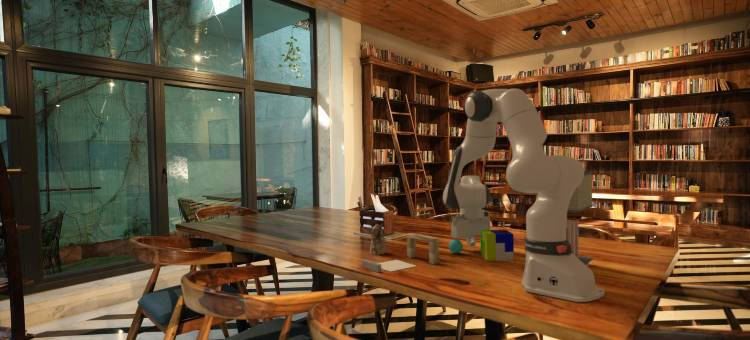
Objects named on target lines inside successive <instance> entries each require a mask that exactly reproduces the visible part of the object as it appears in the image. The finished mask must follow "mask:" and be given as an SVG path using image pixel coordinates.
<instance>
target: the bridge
mask: <svg viewBox="0 0 750 340" xmlns="http://www.w3.org/2000/svg"><path fill="white" fill-rule="evenodd" d="M417 240H419V241H426V242H428V255H429V256H428V261H429V262H428V263H429V264H430V265H437V264H440V254H439V252H440V248H439V246H440V245H439V244H440V243H439V241H440V240H439V237H434V236H429V235H425V234H421V233H415V232H410V233H406V257H407V258H409V259H411V258H416V257H417Z"/></svg>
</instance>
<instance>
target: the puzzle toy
mask: <svg viewBox="0 0 750 340" xmlns="http://www.w3.org/2000/svg"><path fill="white" fill-rule="evenodd" d="M514 237H515V236H514V233H512V232H510V231H509V230H507V229H490V230H481V235H480V255H481V257H483V258H484V259H485V261H487V262H488V261H489V262H490V261H491V262H493V261H494V262H496V261H500V262H501V261H504V262H505V261H515V260H514V259H515V257H514V255H515V254H514V253H515V252H514V251H515V250H514V249H515V248H514V245H515V244H514Z"/></svg>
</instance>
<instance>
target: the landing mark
mask: <svg viewBox="0 0 750 340" xmlns="http://www.w3.org/2000/svg"><path fill="white" fill-rule="evenodd" d="M377 263H378V264H381V270H383V271H386V272H390V273H391V272H396V271H397V272H398V271H401V270H402V271H403V270H406V269H411V268H414V267H415V268H416V267H417V265H416V264H413V263H409V262H405V261H402V260H399V259H394V260H388V261H383V262H377Z"/></svg>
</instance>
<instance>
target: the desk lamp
mask: <svg viewBox="0 0 750 340" xmlns="http://www.w3.org/2000/svg"><path fill="white" fill-rule="evenodd" d="M537 196H538V193H535V200H536V199H537ZM591 208H593V172H584V178H583V181H582V182H581V184H580V185H579V186H578V187H577V188H576V189H575V191H574V193H573V195H572V197H571V200H570V203H569V206H568V210H567V213H581V212H583V211H586V210H588V209H591ZM566 239H567V240H568V242H569V243H570V244H575V245H574V246H573V247H574V248H571V250H572V254H573V255H575V256H576V257H577V258H578V259H579V260H580V261H581V262H582V263H584V264H585V265H586V266H587V267H588V266H589V265H590V262H592V261H593V260H594V257H590V256H589V257H588V256H581V255H580V254H579V220H575V219H574V220H571V219H568V217H567V218H566Z"/></svg>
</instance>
